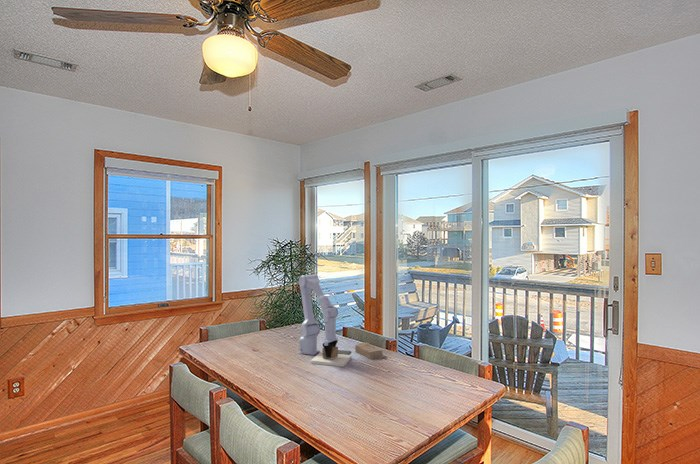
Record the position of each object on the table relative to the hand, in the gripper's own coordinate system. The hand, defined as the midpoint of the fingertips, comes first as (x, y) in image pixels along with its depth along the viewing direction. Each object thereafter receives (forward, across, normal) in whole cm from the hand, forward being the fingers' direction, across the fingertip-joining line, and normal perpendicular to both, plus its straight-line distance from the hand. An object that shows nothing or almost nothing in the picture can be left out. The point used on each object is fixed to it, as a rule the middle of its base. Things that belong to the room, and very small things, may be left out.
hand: (330, 355), depth 198 cm
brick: (+3, +16, -18) cm, 24 cm away
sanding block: (+1, 0, 0) cm, 1 cm away
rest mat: (+3, +13, -1) cm, 13 cm away
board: (+3, 0, -1) cm, 3 cm away
